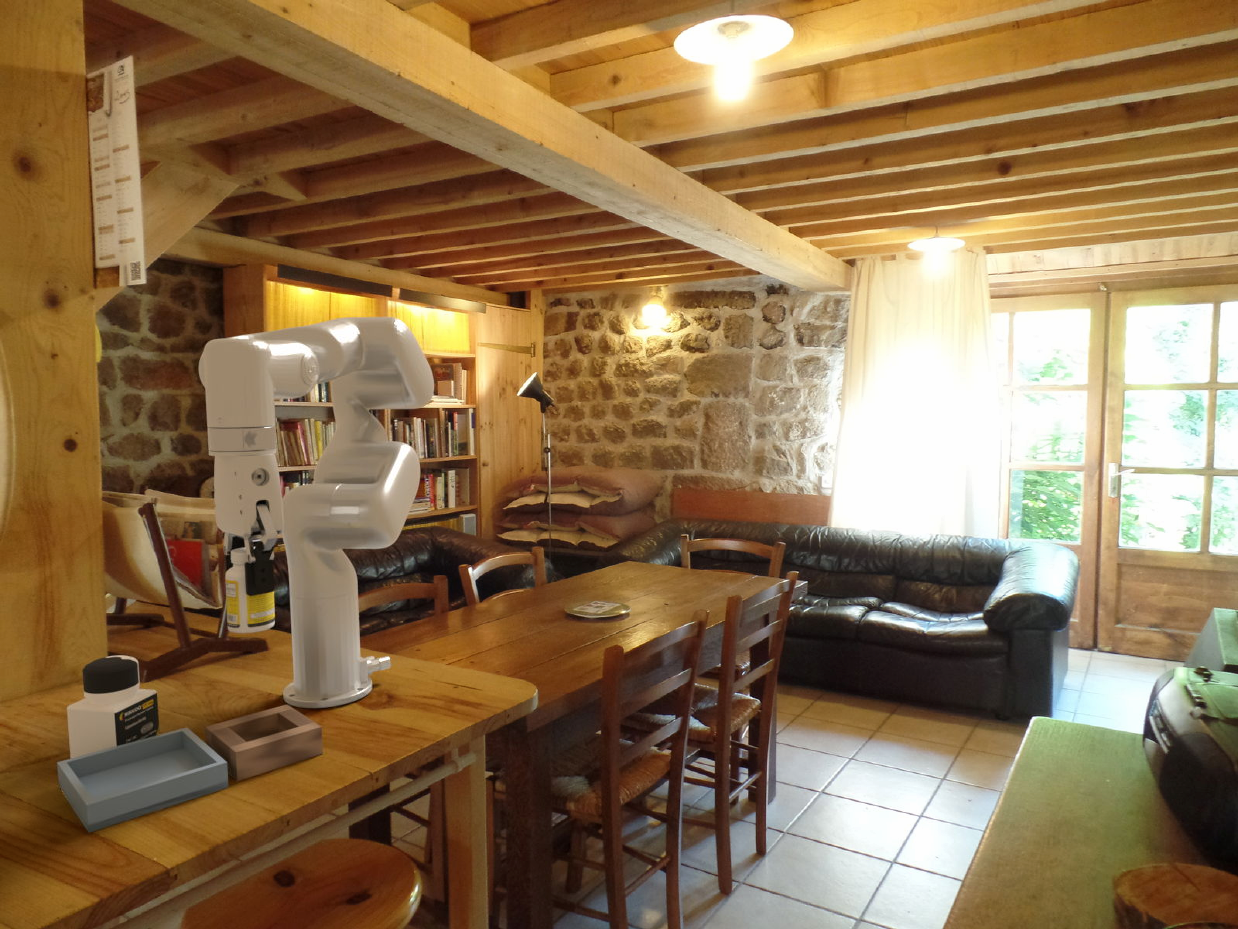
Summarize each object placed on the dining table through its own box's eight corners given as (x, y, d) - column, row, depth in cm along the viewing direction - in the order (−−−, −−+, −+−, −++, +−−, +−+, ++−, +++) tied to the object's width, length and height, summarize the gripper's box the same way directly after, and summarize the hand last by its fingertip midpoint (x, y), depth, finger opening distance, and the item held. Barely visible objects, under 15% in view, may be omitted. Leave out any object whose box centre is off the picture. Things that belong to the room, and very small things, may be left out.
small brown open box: (288, 729, 114) (287, 704, 113) (322, 753, 106) (321, 726, 106) (206, 753, 106) (205, 726, 106) (237, 781, 99) (235, 752, 99)
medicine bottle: (119, 767, 103) (112, 671, 102) (69, 762, 105) (62, 667, 103) (161, 742, 110) (155, 652, 109) (114, 738, 111) (108, 649, 110)
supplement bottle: (281, 622, 107) (279, 545, 106) (265, 634, 102) (262, 553, 101) (237, 622, 107) (235, 545, 106) (219, 634, 101) (216, 554, 100)
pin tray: (188, 750, 108) (186, 727, 107) (228, 787, 98) (227, 762, 97) (58, 787, 98) (57, 762, 98) (88, 833, 88) (86, 805, 88)
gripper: (304, 443, 99) (310, 595, 100) (246, 437, 111) (253, 573, 112) (238, 447, 93) (246, 608, 95) (185, 440, 105) (193, 583, 107)
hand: (250, 587), depth 104 cm, fingers closed on supplement bottle, 5 cm apart
